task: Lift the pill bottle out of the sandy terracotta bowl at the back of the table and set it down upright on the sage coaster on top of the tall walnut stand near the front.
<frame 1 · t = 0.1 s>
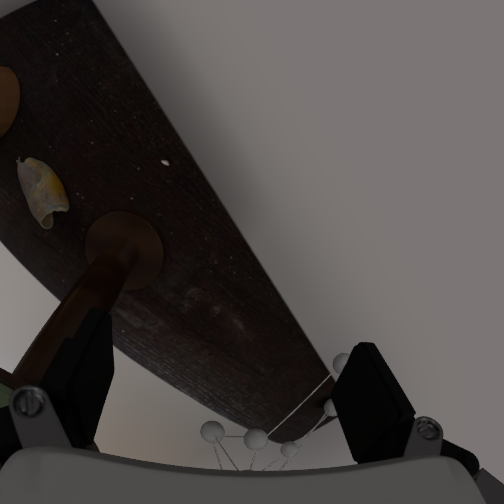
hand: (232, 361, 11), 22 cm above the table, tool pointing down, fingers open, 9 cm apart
molecule model: (276, 405, 44), on the table
stand: (125, 249, 32), on the table
cream hollow shell: (49, 184, 28), on the table
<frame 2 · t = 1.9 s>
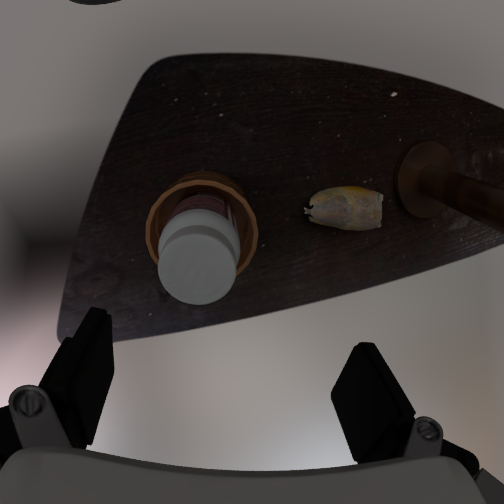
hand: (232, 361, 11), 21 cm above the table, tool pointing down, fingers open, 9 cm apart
pill bottle: (204, 218, 30), resting on bowl
stand: (425, 179, 31), on the table
bowl: (204, 217, 31), on the table
cream hollow shell: (335, 203, 32), on the table
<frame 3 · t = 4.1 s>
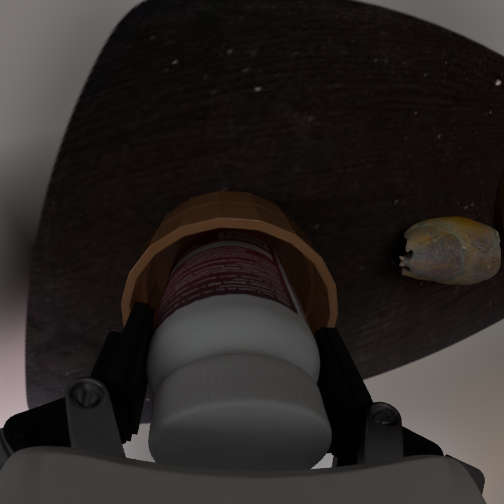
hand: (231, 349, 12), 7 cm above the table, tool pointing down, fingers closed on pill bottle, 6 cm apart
pill bottle: (227, 273, 18), resting on bowl, touching gripper
bowl: (227, 269, 18), on the table
cream hollow shell: (427, 240, 19), on the table
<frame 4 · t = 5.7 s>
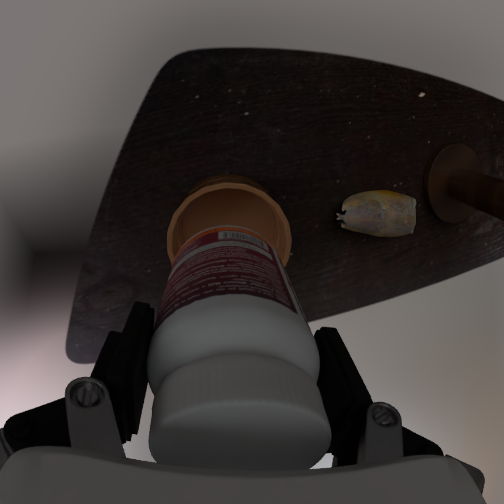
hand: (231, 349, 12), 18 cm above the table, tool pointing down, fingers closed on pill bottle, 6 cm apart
pill bottle: (227, 273, 18), point 12 cm above the table, touching gripper
stand: (453, 182, 29), on the table
bowl: (228, 224, 29), on the table
cream hollow shell: (365, 208, 29), on the table
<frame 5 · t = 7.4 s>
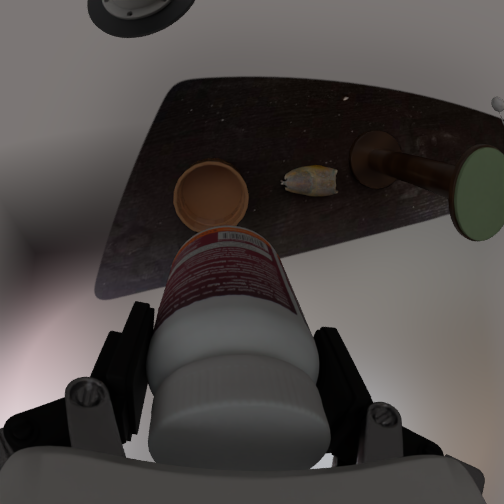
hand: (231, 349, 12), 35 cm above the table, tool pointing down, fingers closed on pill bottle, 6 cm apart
molecule model: (501, 165, 46), on the table
pill bottle: (227, 273, 18), point 28 cm above the table, touching gripper
stand: (375, 159, 44), on the table
coaster: (375, 159, 44), resting on stand
bowl: (212, 190, 44), on the table
cream hollow shell: (305, 178, 44), on the table
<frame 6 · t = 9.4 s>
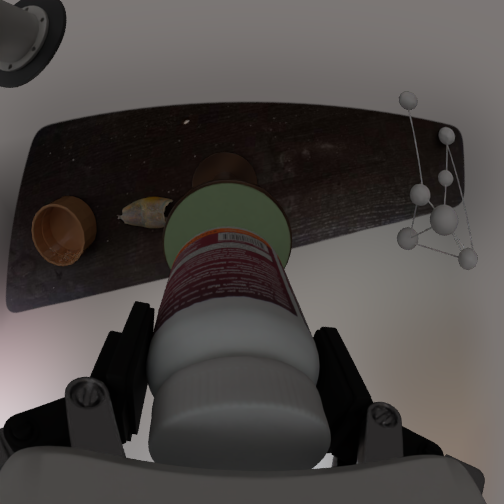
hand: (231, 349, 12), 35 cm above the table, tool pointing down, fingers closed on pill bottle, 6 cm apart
molecule model: (418, 175, 46), on the table
pill bottle: (227, 274, 18), point 28 cm above the table, touching gripper
stand: (224, 183, 44), on the table
coaster: (224, 183, 44), resting on stand
bowl: (72, 224, 43), on the table
cream hollow shell: (149, 209, 44), on the table
when the fingers open (31 cm above the table, at t = 10.9 s): pill bottle stays where it is, resting on coaster.
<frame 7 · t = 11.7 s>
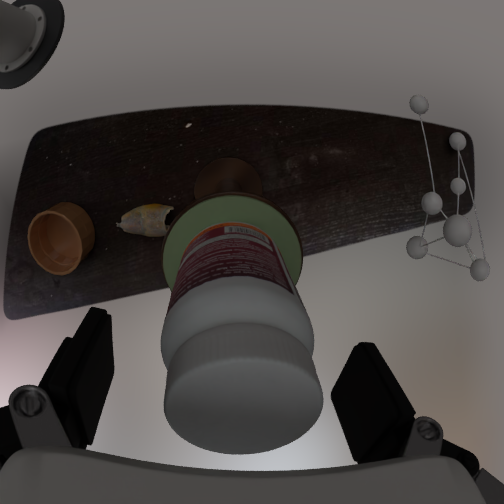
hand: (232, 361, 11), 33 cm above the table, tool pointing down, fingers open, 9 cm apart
molecule model: (429, 182, 44), on the table
pill bottle: (232, 265, 19), point 24 cm above the table, touching coaster
stand: (228, 190, 42), on the table
coaster: (228, 190, 42), resting on stand
bowl: (69, 231, 42), on the table
cream hollow shell: (149, 216, 42), on the table
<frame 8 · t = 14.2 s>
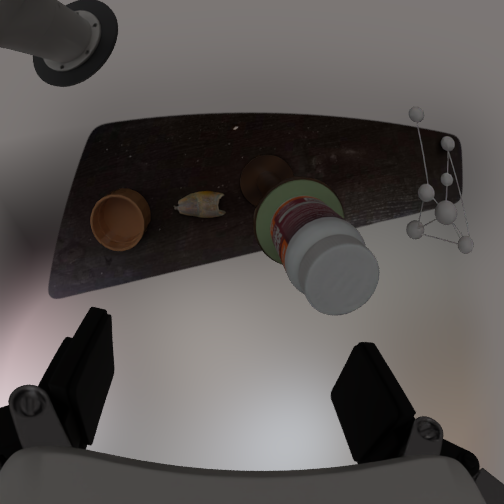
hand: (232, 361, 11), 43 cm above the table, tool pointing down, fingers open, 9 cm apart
molecule model: (424, 177, 54), on the table
pill bottle: (301, 225, 30), point 24 cm above the table, touching coaster
stand: (266, 181, 52), on the table
coaster: (266, 181, 52), resting on stand
bowl: (125, 214, 52), on the table
cream hollow shell: (200, 202, 52), on the table
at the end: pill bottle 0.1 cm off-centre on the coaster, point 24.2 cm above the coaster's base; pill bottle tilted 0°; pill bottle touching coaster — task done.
